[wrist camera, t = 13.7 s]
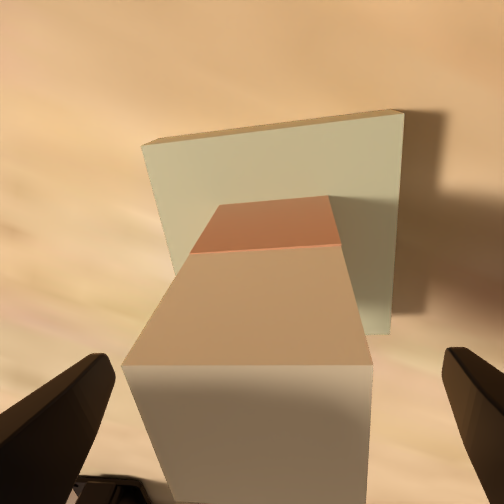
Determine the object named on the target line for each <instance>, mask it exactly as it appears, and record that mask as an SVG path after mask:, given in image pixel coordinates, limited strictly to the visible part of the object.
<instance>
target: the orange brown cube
mask: <svg viewBox="0 0 504 504" xmlns="http://www.w3.org/2000/svg"><path fill="white" fill-rule="evenodd" d="M332 246H341V241H340V237H339V233H338V230H337V226H336V223H335V219H334V215H333V212H332V208H331V205H330V201H329V198H328V195H326V196H315V197H303V198H292V199H281V200H269V201H258V202H246V203H235V204H223V205H219V206H218V208H217V210H216V211H215V213H214V214H213V216H212V218H211V219H210V221H209V222H208V224H207V226H206V227H205V229H204V231H203V232H202V234H201V235H200V237H199V239H198V240H197V242H196V244H195V245H194V247H193V248H192V250H191V252H190V253H189V254H206V253H224V252H242V251H260V250H278V249H296V248H314V247H332Z"/></svg>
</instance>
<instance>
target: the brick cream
mask: <svg viewBox="0 0 504 504" xmlns="http://www.w3.org/2000/svg"><path fill="white" fill-rule="evenodd" d="M121 367H122V370H123V372H124V375H125V377H126V380H127V382H128V385H129V387H130V390H131V392H132V395H133V397H134V400H135V402H136V405H137V407H138V410H139V413H140V415H141V418H142V420H143V423H144V425H145V428H146V430H147V433H148V435H149V438H150V440H151V443H152V445H153V448H154V450H155V453H156V456H157V458H158V461H159V463H160V466H161V468H162V471H163V473H164V476H165V478H166V481H167V483H168V486H169V488H170V491H171V493H172V496H173V499H174V501H177V502H192V503H207V504H366V491H367V473H368V455H369V437H370V419H371V400H372V382H373V362H372V358H371V355H370V351H369V347H368V344H367V340H366V336H365V333H364V329H363V325H362V322H361V318H360V314H359V311H358V307H357V303H356V300H355V296H354V292H353V289H352V285H351V281H350V278H349V274H348V270H347V267H346V263H345V259H344V256H343V252H342V248H341V246H332V247H314V248H296V249H278V250H260V251H242V252H224V253H206V254H189V256H188V257H187V259H186V261H185V262H184V264H183V266H182V267H181V269H180V270H179V272H178V274H177V275H176V277H175V279H174V280H173V282H172V283H171V285H170V287H169V288H168V290H167V292H166V293H165V295H164V296H163V298H162V300H161V301H160V303H159V305H158V306H157V308H156V309H155V311H154V313H153V314H152V316H151V318H150V319H149V321H148V322H147V324H146V326H145V327H144V329H143V331H142V332H141V334H140V335H139V337H138V339H137V340H136V342H135V344H134V345H133V347H132V348H131V350H130V352H129V353H128V355H127V357H126V358H125V360H124V361H123V363H122V365H121Z"/></svg>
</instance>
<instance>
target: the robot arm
mask: <svg viewBox="0 0 504 504" xmlns="http://www.w3.org/2000/svg"><path fill="white" fill-rule="evenodd" d="M115 378H116V376H115V372H114V370H113V367H112V365H111V363H110V360H109V358H108V356H107V355H106V354H104V353H93V354H90V355H88V356H86V357H85V358H83V359H82V360H80V361H79V362H77V363H76V364H74V365H73V366H71V367H70V368H68V369H67V370H65V371H64V372H62V373H61V374H59V375H58V376H56V377H55V378H53V379H52V380H50V381H49V382H47V383H46V384H44V385H43V386H42V387H40V388H39V389H37V390H36V391H34V392H33V393H31V394H30V395H28V396H27V397H25V398H24V399H22V400H21V401H19V402H18V403H16V404H15V405H13V406H12V407H10V408H9V409H7V410H6V411H4V412H3V413H1V414H0V504H66V502H67V499H68V497H69V495H70V493H71V491H72V488H73V490H74V491H75V493H76V494H77V496H78V499H77V501H76V503H75V504H151V502H150V500H149V498H148V496H147V493H146V491H145V489H144V487H143V485H142V483H141V482H139V481H136V480H119V479H100V478H80V477H78V475H79V473H80V471H81V469H82V466H83V464H84V462H85V460H86V458H87V455H88V453H89V451H90V449H91V447H92V444H93V442H94V440H95V437H96V435H97V432H98V430H99V427H100V424H101V421H102V418H103V416H104V413H105V410H106V407H107V404H108V401H109V398H110V395H111V392H112V390H113V387H114V384H115ZM442 380H443V384H444V387H445V390H446V393H447V396H448V399H449V402H450V405H451V408H452V411H453V414H454V417H455V420H456V423H457V426H458V429H459V432H460V435H461V438H462V441H463V444H464V446H465V449H466V451H467V453H468V456H469V458H470V460H471V463H472V465H473V467H474V469H475V471H476V474H477V476H478V478H479V480H480V482H481V485H482V487H483V489H484V491H485V494H486V496H487V498H488V500H489V502H490V504H504V373H502V372H501V371H499V370H498V369H496V368H495V367H494V366H492V365H491V364H489V363H488V362H486V361H485V360H484V359H482V358H481V357H479V356H478V355H476V354H475V353H473V352H472V351H471V350H469V349H467V348H465V347H449V348H447V349H446V350H445V355H444V361H443V367H442Z"/></svg>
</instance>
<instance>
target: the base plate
mask: <svg viewBox="0 0 504 504" xmlns="http://www.w3.org/2000/svg"><path fill="white" fill-rule="evenodd" d="M404 114H405V113H402V112H399V111H395V110H392V109H387V110H379V111H371V112H363V113H355V114H347V115H339V116H331V117H324V118H316V119H308V120H300V121H292V122H284V123H276V124H268V125H260V126H252V127H244V128H237V129H229V130H221V131H213V132H205V133H197V134H189V135H181V136H173V137H165V138H158V139H156V140H154V141H151V142H149V143H146V144H144V145H142V146H141V149H142V153H143V156H144V160H145V164H146V168H147V171H148V175H149V179H150V182H151V186H152V190H153V194H154V197H155V201H156V205H157V209H158V212H159V216H160V220H161V223H162V227H163V231H164V235H165V238H166V242H167V246H168V250H169V253H170V257H171V261H172V264H173V268H174V272H175V276H176V275H177V274H178V272H179V270H180V269H181V267H182V266H183V264H184V262H185V261H186V259H187V257H188V256H189V253H190V252H191V250H192V248H193V247H194V245H195V244H196V242H197V240H198V239H199V237H200V235H201V234H202V232H203V231H204V229H205V227H206V226H207V224H208V222H209V221H210V219H211V218H212V216H213V214H214V213H215V211H216V210H217V208H218V206H219V205H223V204H235V203H246V202H258V201H269V200H281V199H292V198H303V197H315V196H326V195H328V198H329V201H330V205H331V208H332V212H333V215H334V219H335V223H336V226H337V230H338V233H339V237H340V241H341V248H342V252H343V256H344V259H345V263H346V267H347V270H348V274H349V278H350V281H351V285H352V289H353V292H354V296H355V300H356V303H357V307H358V311H359V314H360V318H361V322H362V325H363V329H364V333H365V335H390V326H391V311H392V296H393V281H394V266H395V250H396V235H397V220H398V205H399V190H400V175H401V160H402V145H403V129H404Z"/></svg>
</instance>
